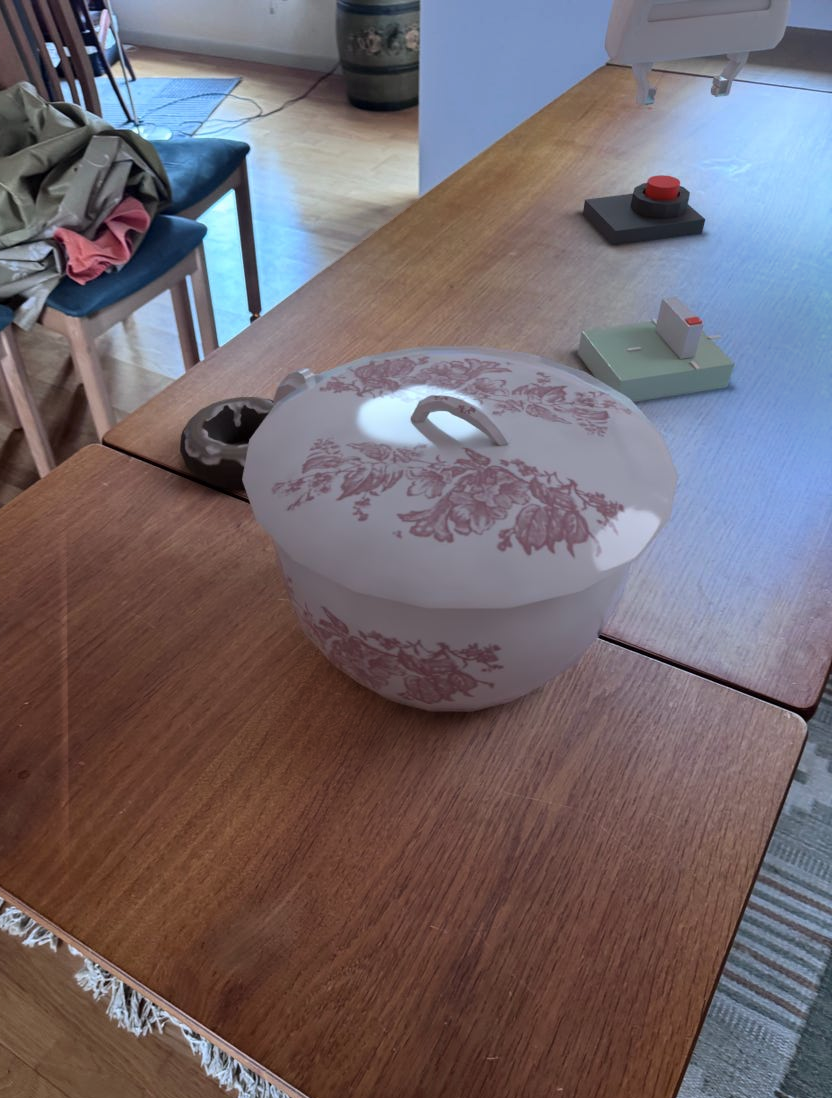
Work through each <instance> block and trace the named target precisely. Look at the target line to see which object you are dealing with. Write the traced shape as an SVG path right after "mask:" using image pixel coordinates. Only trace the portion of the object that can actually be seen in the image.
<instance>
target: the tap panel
mask: <svg viewBox="0 0 832 1098" xmlns="http://www.w3.org/2000/svg"><path fill="white" fill-rule="evenodd" d="M656 323H657V319H656V318H655V317H653V318H651V319H650V320H648V321H641V322H635V323H629V324H620V325H614V326H606V327H600V328H593V329H587V330H581V332H580V339H579V344H578V350H577V356H579V358H580V359H581V361H582V362H583V363H584V365H585V366H586V367H587V368H588V370H589V371H590V372H591V374H592V376H593V377H595V378H596V379H598V380H600V381H601V382H603V383H605V384H606V385H608V386H610V387H611V388H613V389H615V390H616V391H618V392H620V393H621V394H623V395H625V396H626V397H628V398H630V399H631V401H632V402H633V403H635V402H642V401H649V400H653V399H659V398H667V397H674V396H681V395H686V394H693V393H698V392H699V393H700V392H705V391H712V390H719V389H724V388H728V386H729V383H730V379H731V376H732V374H733V371H734V367H735V362H734V361H733V360H732V359H731V358H730V357H729V356H728V355H727V354H726V353H725V352H724V351H723V349H722V348H720V347H719V346H718V345H717V344H716V343H715V342H714V340H716V339H722V337H723V336H722V334H716V335H708V334H707V333H705V331H704V330H702V334H701V337H700V341H699V345H698V348H697V352H696V356H695V357H692V358H685V359H680V358H679V357H678V356H677V354H676V353H675V352H674V351H673V350H672V349H671V348H670V346H669V345H668V344H667V343H666V342H665V341H664V340H663V339H662V337H661V336H660V335H659V334H658V333H657V332H656V331H655V328H656Z"/></svg>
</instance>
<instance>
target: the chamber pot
mask: <svg viewBox="0 0 832 1098" xmlns="http://www.w3.org/2000/svg"><path fill="white" fill-rule="evenodd" d="M272 400H273V401H274V407H273V408H272V410H271V411H270V412H269V414H268V415H267V416H266V418H265V419H264V421H263V422H262V423H261V425H260V426H259V427H258V429H257V430H256V431H255V433H254V434H253V436H252V437H251V438H250V439H248V440H249V441H248V443H249V445H248V450H247V456H246V461H245V467H244V472H243V478H242V481H243V484H244V486H245V489H244V490H245V492H246V496H247V499H248V501H249V503H250V506H251V510H252V512H253V513H252V514H253V515H254V518H255V521H256V523H257V524H258V525H259V526H260V527H261V528H262V529H263V530H264V531H265V532H266V533H267V534H268V535H269V536H270V537H271V538H272V540H273V547H274V554H275V561H276V564H277V568H278V570H279V573H280V576H281V578H282V582H283V585H284V588H285V590H286V593H287V595H288V598H289V599H288V600H289V601H290V603H291V607H292V608H293V611H294V613H295V615H296V618H297V620H298V623H299V625H300V628H301V630H302V632H303V634H304V635H305V636H306V638H307V639H309V641H310V642H311V643H312V644H313V645H314V646H315V647H316V648H317V650H318V651H319V652H320V653H321V654H322V655H323V656H324V657H325V658H326V659H327V661H329V663H330V664H331V665H332V666H333V667H335V668H336V669H338V670H339V671H341V672H342V673H343V674H345V675H347V677H349V678H351V679H352V680H354V681H355V682H356V683H358V684H360V685H361V686H363V687H365V688H366V689H368V690H370V691H371V692H373V693H375V694H377V695H379V696H380V697H382V698H384V699H386V700H388V701H389V702H393V703H396V704H400V705H404V706H408V707H411V708H414V709H415V708H416V709H419V710H424V711H427V712H475V711H479V710H485V709H488V708H491V707H496V706H500V705H504V704H508V703H511V702H513V701H516V700H517V699H519V698H521V697H523V696H525V695H527V694H529V693H531V692H533V691H535V690H537V689H538V688H540V687H541V686H543V685H545V684H547V683H548V682H550V681H552V680H553V679H555V678H557V677H558V676H560V675H562V674H563V673H565V672H566V671H568V670H570V669H572V668H573V667H574V666H577V665H578V663H579V661H580V660H581V659H582V658H583V657H584V655H585V654H586V653H587V652H588V650H589V649H590V648H591V647H592V645H593V644H594V643H595V642H596V640H597V639H598V638H599V637H600V635H601V634H602V633H603V631H604V629H605V628H606V626H607V624H608V623H609V620H610V619H611V618H612V616H613V614H614V612H615V610H616V609H617V607H618V606H619V604H620V602H621V601H622V600H623V596H624V592H625V588H626V585H627V581H628V578H629V575H630V571H631V565H632V563H634V562H636V561H638V560H639V558H640V557H641V556H642V555H643V554H644V552H646V550H647V549H648V548H649V546H650V545H651V544H652V543H653V541H654V540H655V539H656V538H657V537H658V535H659V534H660V533H661V531H662V530H663V529H664V528H665V527H666V525H667V524H668V523H669V522H670V521H671V518H672V517H671V516H672V512H673V511H672V510H673V506H674V502H675V501H674V500H675V495H676V492H677V491H676V490H677V486H678V480H679V475H678V473H677V470H676V467H675V464H674V461H673V459H672V454H671V453H670V450H669V447H668V444H667V441H666V438H665V435H663V434H662V432H661V431H660V429H658V427H656V426H655V424H654V423H653V422H652V421H651V420H650V419H649V418H648V417H647V416H646V415H645V413H644V412H643V411H642V410H641V409H640V408H639V407H638V405H637V404H635V402H632V401H631V399H630V398H628V397H626V396H625V395H623V394H621V393H620V392H618V391H616V390H615V389H613V388H611V387H610V386H608V385H606V384H605V383H603V382H601V381H600V380H598V379H596V378H595V376H594V375H591V374H590V373H588V372H586V371H584V370H581V369H578V368H575V367H572V366H569V365H566V364H564V363H561V362H557V361H555V360H551V359H549V358H546V357H543V356H540V355H537V354H534V353H528V352H521V351H515V350H509V349H501V348H494V347H488V346H482V345H418V346H413V347H407V348H403V349H397V350H391V351H386V352H380V353H375V354H370V355H364V356H362V357H359V358H357V359H354V360H351V361H348V362H346V363H344V364H341V365H338V366H336V367H333V368H331V369H328V370H326V371H323V372H319V373H314V372H313V371H312V370H311V369H309V368H308V367H303V368H299V369H296V370H294V371H291V372H289V373H288V374H287V375H286V376H285V377H284V378H283V379H282V380H281V382H280V383H279V385H278V386H277V388H276V391H275V394H274V397H273V399H272Z"/></svg>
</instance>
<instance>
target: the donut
mask: <svg viewBox="0 0 832 1098" xmlns="http://www.w3.org/2000/svg"><path fill="white" fill-rule="evenodd" d="M273 400H274V399H270V398H265V397H258V396H238V397H231V398H226V399H222V400H219V401H216V402H212V403H211V404H209V405H207V406H205V407H203V408H201V409H200V410H198V411H197V412H196V413H195V414H194V415H192V417H191V418H190V419H189V420H188V421H187V423H186V424H185V426H184V428H183V430H182V431H181V435H180V442H179V452H180V454H181V457H182V459H183V462H184V465H185V466H186V468H187V469H188V470H189V471H190V472H191V473H192V474H193V475H194V476H196V477H197V478H198V479H199V480H201V481H204V482H205V483H207V484H210V485H212V486H214V487H219V488H224V489H229V490H246V489H245V486H244V484H243V481H242V478H243V472H244V467H245V461H246V456H247V450H248V445H249V442H246V443H234V442H237V441H242V440H243V441H244V440H250V438H251V437H252V436H253V434H254V433H255V431H256V430H257V429H258V427H259V426H260V425H261V423H262V422H263V421H264V419H265V418H266V416H267V415H268V414H269V412H270V411H271V410H272V408H273V407H274V401H273Z"/></svg>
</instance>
